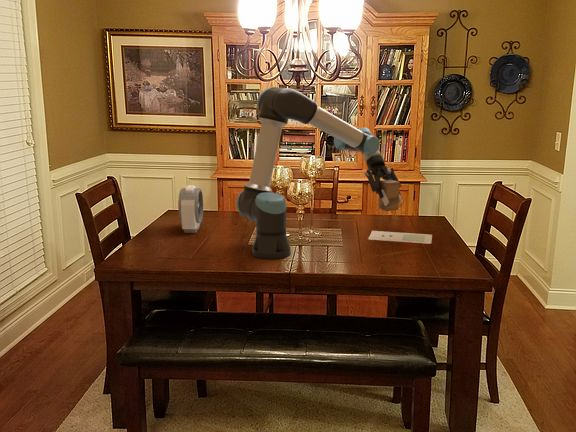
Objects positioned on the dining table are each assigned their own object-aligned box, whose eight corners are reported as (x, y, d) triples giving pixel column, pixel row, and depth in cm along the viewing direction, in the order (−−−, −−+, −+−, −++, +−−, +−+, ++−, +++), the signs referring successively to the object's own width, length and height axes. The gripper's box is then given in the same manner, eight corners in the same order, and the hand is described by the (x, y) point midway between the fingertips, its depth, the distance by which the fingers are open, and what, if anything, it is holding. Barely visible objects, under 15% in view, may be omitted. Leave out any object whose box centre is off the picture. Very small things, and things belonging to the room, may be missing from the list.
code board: (431, 245, 240) (431, 243, 240) (367, 240, 247) (368, 239, 247) (432, 236, 253) (432, 234, 253) (372, 232, 260) (372, 230, 260)
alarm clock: (198, 235, 256) (196, 189, 251) (178, 235, 256) (176, 189, 251) (204, 224, 274) (203, 182, 269) (186, 224, 274) (184, 182, 269)
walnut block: (398, 209, 247) (399, 181, 244) (386, 211, 245) (387, 183, 242) (390, 206, 252) (391, 179, 249) (378, 208, 250) (379, 180, 247)
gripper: (388, 163, 262) (408, 206, 251) (351, 165, 254) (370, 210, 243) (395, 152, 256) (416, 196, 245) (358, 155, 248) (378, 200, 238)
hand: (393, 203), depth 244 cm, fingers closed on walnut block, 6 cm apart
